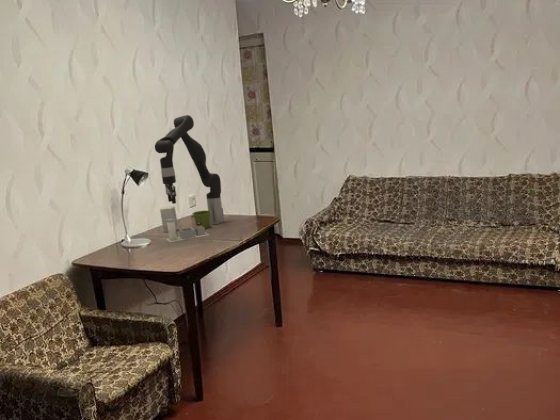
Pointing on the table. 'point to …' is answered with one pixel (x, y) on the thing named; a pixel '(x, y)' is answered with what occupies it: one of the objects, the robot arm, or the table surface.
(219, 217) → the robot arm
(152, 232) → the table surface
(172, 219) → the cartridge
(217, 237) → the table surface
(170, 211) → the skincare box
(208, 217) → the plant pot
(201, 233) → the housing
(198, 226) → the plunger
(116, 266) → the table surface
